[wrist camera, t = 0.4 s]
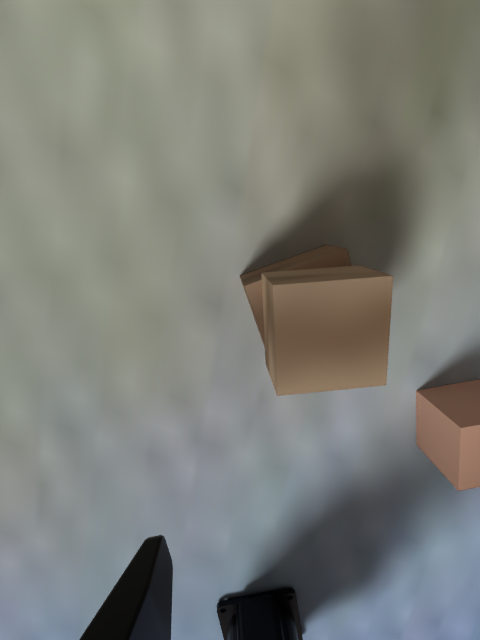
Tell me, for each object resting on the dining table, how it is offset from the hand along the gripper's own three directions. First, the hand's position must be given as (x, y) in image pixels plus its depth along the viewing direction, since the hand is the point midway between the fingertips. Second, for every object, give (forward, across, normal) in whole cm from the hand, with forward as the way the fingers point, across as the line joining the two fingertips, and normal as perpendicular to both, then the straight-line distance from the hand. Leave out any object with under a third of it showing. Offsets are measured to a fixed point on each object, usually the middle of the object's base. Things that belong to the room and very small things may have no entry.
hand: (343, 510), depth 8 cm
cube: (+14, -12, +8) cm, 20 cm away
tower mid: (+10, -2, -2) cm, 11 cm away
